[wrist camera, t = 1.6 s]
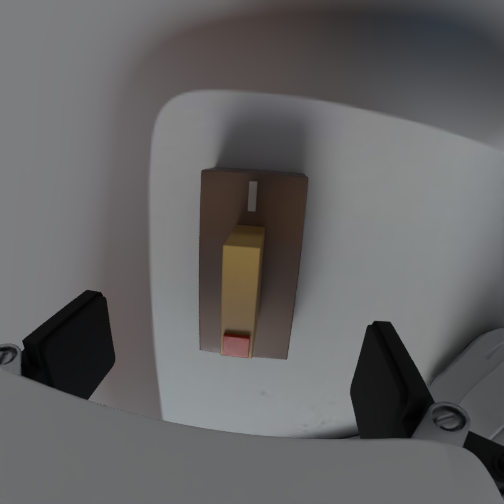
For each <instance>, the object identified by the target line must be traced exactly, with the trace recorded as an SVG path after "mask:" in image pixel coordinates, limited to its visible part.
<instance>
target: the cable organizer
mask: <svg viewBox="0 0 504 504" xmlns="http://www.w3.org/2000/svg"><path fill="white" fill-rule="evenodd" d="M428 390H429V392H430V393H431V395H432V397H433V399H434V401H435V403H437V402H451V403H454V404H457V405H459V406H460V407H462V408H463V409H464V410H465V411H466V412H467V413H468V415H469V416H470V420H471V424H470V428H469V431H472V432H474V433H476V434H478V435H480V436H482V437H485V438H487V439H489V440H491V441H494V442H496V443H498V444H500V445H503V446H504V328H500V329H496V330H493V331H490V332H487V333H485V334H483V335H481V336H479V337H477V338H476V339H475V340H473V341H472V342H471V343H470V344H469V345H468V346H467V347H466V348H465V349H464V351H463V352H462V353H461V354H460V355H459V356H458V357H457V358H456V359H455V360H454V361H453V362H452V363H451V364H450V365H449V366H448V367H447V368H446V369H444V370H443V371H442V372H441V373H440V374H439V375H438V376H437V377H436V378H435V379H434V380H433V382H432V383H431V385H430V386H429V388H428Z"/></svg>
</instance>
